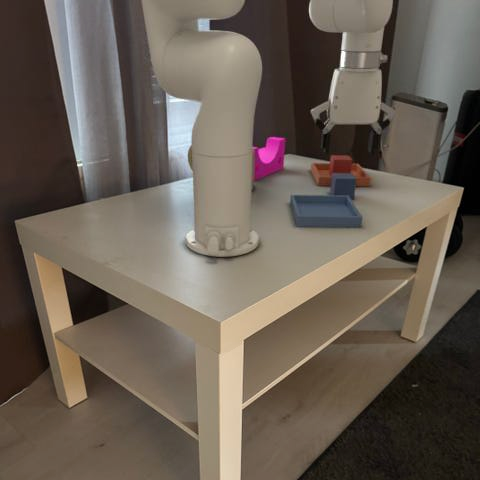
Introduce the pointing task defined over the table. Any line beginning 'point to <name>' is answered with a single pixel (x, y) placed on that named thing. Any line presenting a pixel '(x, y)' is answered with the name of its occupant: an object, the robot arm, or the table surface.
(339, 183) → the blue block
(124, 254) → the table surface
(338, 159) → the red block
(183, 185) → the table surface
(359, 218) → the blue tray
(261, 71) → the robot arm
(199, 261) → the table surface
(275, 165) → the toy block
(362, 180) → the red tray
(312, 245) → the table surface
